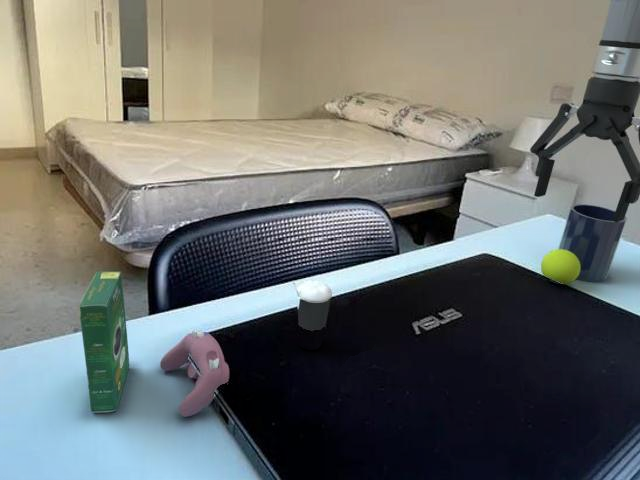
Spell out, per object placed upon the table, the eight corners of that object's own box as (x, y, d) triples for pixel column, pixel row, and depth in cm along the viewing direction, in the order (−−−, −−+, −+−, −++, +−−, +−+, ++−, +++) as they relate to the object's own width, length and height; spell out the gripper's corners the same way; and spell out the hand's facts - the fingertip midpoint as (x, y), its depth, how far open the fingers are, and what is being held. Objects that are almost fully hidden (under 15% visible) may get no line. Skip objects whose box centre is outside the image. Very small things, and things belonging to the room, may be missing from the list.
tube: (603, 267, 100) (623, 210, 95) (609, 286, 91) (630, 226, 87) (553, 256, 103) (569, 200, 98) (554, 274, 95) (571, 214, 90)
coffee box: (105, 366, 60) (95, 268, 55) (131, 365, 60) (123, 268, 55) (89, 414, 53) (75, 306, 48) (118, 412, 53) (107, 306, 48)
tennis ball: (573, 279, 93) (583, 248, 90) (575, 294, 87) (586, 261, 85) (537, 271, 95) (546, 240, 92) (537, 285, 89) (546, 253, 87)
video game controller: (215, 423, 55) (243, 369, 54) (177, 420, 52) (206, 363, 51) (189, 370, 63) (213, 323, 62) (155, 365, 60) (180, 315, 59)
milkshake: (283, 337, 68) (287, 272, 64) (319, 332, 70) (325, 269, 66) (293, 357, 64) (298, 289, 60) (331, 351, 66) (338, 285, 62)
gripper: (529, 67, 83) (500, 189, 92) (702, 90, 66) (647, 236, 75) (551, 68, 88) (522, 184, 96) (718, 90, 71) (664, 228, 79)
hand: (576, 207), depth 85 cm, fingers open, 13 cm apart
